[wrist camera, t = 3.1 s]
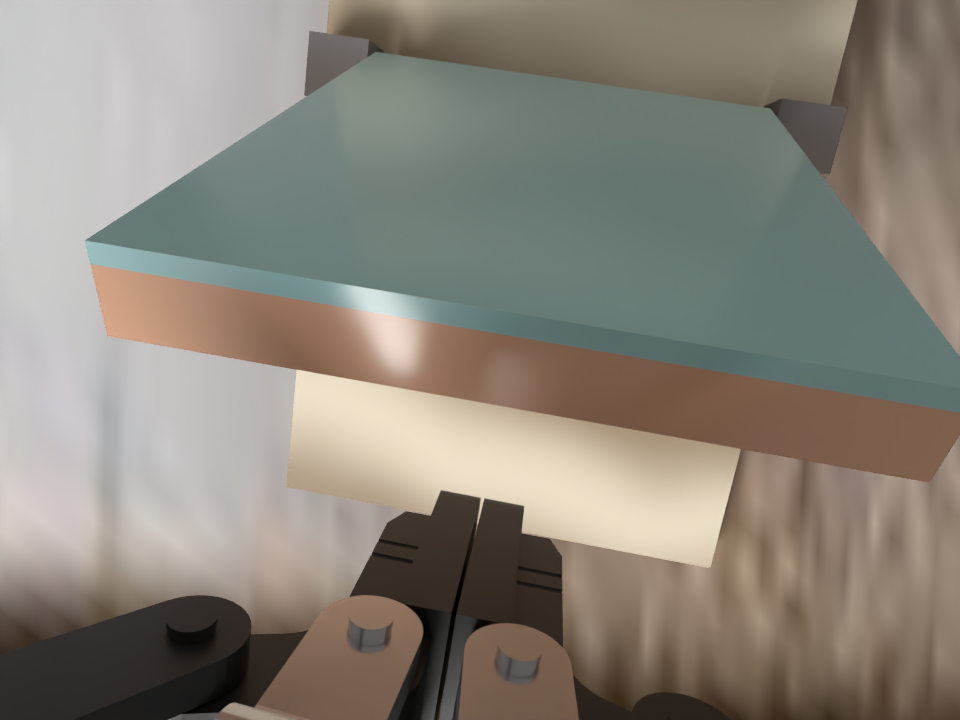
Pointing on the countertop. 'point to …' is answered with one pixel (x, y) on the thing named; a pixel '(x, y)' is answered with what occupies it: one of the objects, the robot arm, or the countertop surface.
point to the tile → (545, 265)
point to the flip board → (536, 436)
